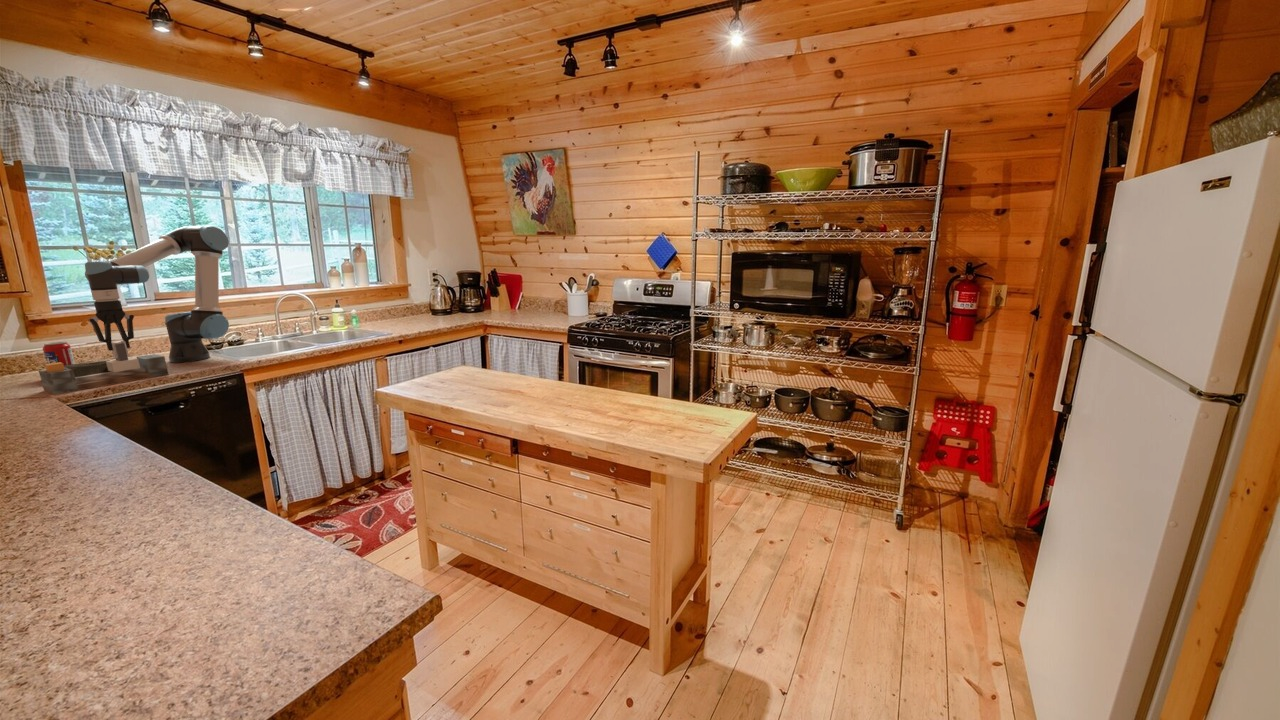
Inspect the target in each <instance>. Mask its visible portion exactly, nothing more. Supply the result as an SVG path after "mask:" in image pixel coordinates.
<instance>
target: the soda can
mask: <svg viewBox="0 0 1280 720" xmlns="http://www.w3.org/2000/svg"><path fill="white" fill-rule="evenodd" d="M42 352H43V354H44V358H45V362H46V364H51V363H58V362H61V363H63V365H71V364H76V361H75V359H74V355H73V351H72V347H71V345H70V344H69V343H67V341H54V342H47V343H43V346H42Z"/></svg>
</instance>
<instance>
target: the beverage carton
mask: <svg viewBox="0 0 1280 720" xmlns="http://www.w3.org/2000/svg"><path fill="white" fill-rule="evenodd" d="M110 360H111V359H106V360H99V361H91V362H83V363H75V364H71V365H64V367H66V368H69V369H72V370H73V372H74V376H75V377H81V376H87V375H94V374H100V373H106V372H111V371H108V367H107V364H106V361H110Z"/></svg>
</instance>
